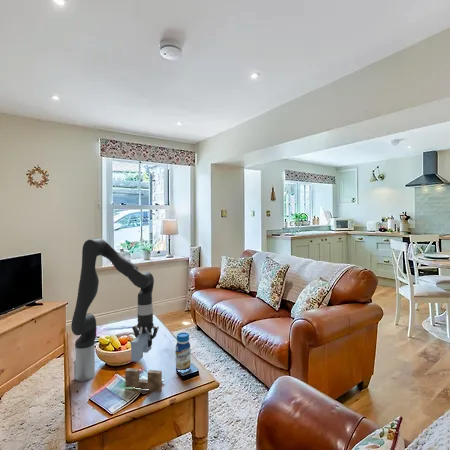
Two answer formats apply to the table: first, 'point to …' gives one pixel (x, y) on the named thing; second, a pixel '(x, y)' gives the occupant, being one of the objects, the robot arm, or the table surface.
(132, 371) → the u-shaped brown bracket
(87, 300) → the robot arm
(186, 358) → the beverage bottle
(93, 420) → the table surface
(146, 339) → the grey block
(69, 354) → the table surface
